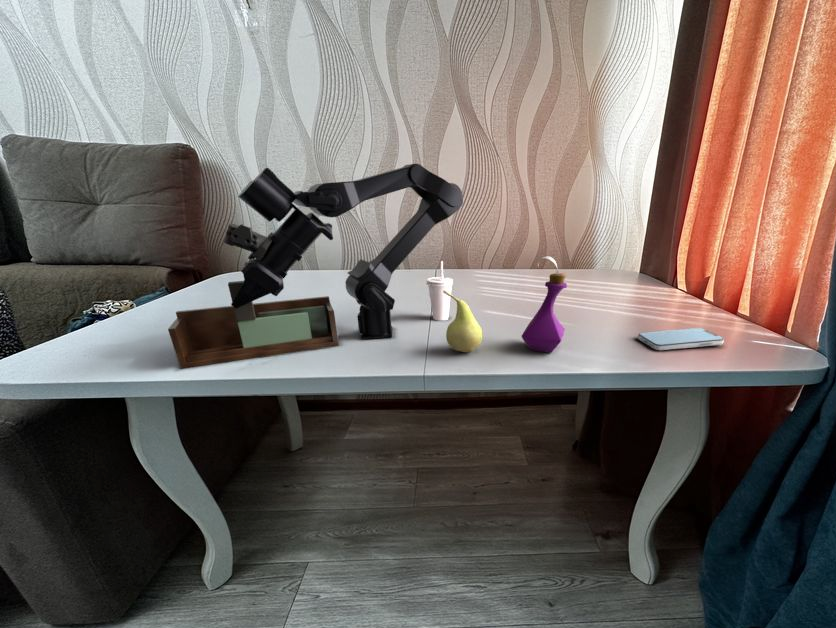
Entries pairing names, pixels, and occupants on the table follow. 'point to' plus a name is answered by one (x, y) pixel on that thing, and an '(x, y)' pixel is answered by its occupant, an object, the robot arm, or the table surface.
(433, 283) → the smoothie
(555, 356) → the table surface
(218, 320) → the brown wooden box
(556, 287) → the perfume bottle
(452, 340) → the fruit
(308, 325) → the green grey l-shaped block
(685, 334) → the smartphone
